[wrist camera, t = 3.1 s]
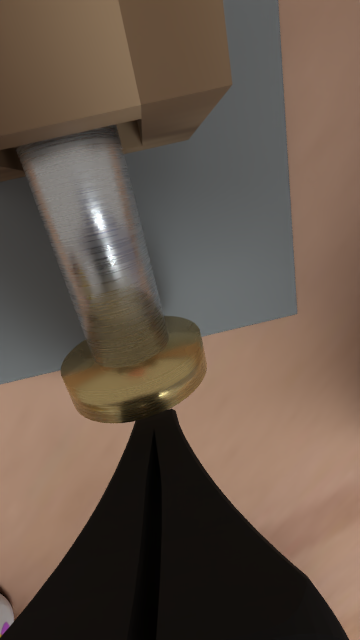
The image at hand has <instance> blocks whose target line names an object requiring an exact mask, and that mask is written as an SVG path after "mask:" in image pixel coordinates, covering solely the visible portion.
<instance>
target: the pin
mask: <svg viewBox="0 0 360 640" xmlns="http://www.w3.org/2000/svg"><path fill="white" fill-rule="evenodd" d="M15 148H16V151H17V153H18V156H19V159H20V161H21V164H22V167H23V170H24V172H25V175H26V178H27V180H28V183H29V186H30V188H31V191H32V194H33V197H34V199H35V202H36V205H37V207H38V210H39V213H40V216H41V218H42V221H43V224H44V226H45V229H46V232H47V235H48V237H49V240H50V243H51V245H52V248H53V251H54V253H55V256H56V259H57V262H58V264H59V267H60V270H61V272H62V275H63V278H64V281H65V283H66V286H67V289H68V291H69V294H70V297H71V300H72V302H73V305H74V308H75V310H76V313H77V316H78V318H79V321H80V324H81V327H82V329H83V332H84V335H85V337H86V339H85V340H84V341H83V342H81V343H80V344H78V345H77V346H76V347H75V348H74V349H73V350H72V351H71V352H69V354H68V355H67V356H66V357H65V359H64V361H63V363H62V365H61V376H62V378H63V380H64V383H65V385H66V387H67V390H68V392H69V394H70V397H71V399H72V401H73V404H74V406H75V408H76V410H77V411H78V412H79V413H80V414H81V415H83V416H84V417H86V418H88V419H90V420H93V421H97V422H102V423H125V422H132V421H137V420H141V419H145V418H148V417H151V416H154V415H156V414H159V413H161V412H164V411H166V410H168V409H170V408H172V407H173V406H175V405H177V404H178V403H180V402H181V401H183V400H184V399H185V398H187V397H188V396H189V395H190V394H191V393H193V392H194V390H195V389H196V388H197V387H198V386H199V385H200V383H201V382H202V380H203V378H204V376H205V373H206V369H207V363H206V358H205V353H204V348H203V343H202V338H201V333H200V329H199V328H198V326H197V325H196V324H195V323H194V322H192V321H190V320H188V319H185V318H182V317H176V316H164V315H163V310H162V306H161V302H160V298H159V294H158V290H157V286H156V282H155V278H154V274H153V270H152V266H151V262H150V258H149V254H148V250H147V246H146V242H145V238H144V234H143V230H142V226H141V222H140V218H139V214H138V210H137V206H136V202H135V198H134V194H133V190H132V186H131V182H130V178H129V174H128V170H127V166H126V161H125V157H124V153H123V149H122V145H121V141H120V137H119V133H118V129H117V125H111V126H107V127H102V128H98V129H93V130H89V131H84V132H79V133H75V134H70V135H66V136H61V137H57V138H52V139H48V140H43V141H39V142H34V143H30V144H25V145H21V146H16V147H15Z"/></svg>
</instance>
